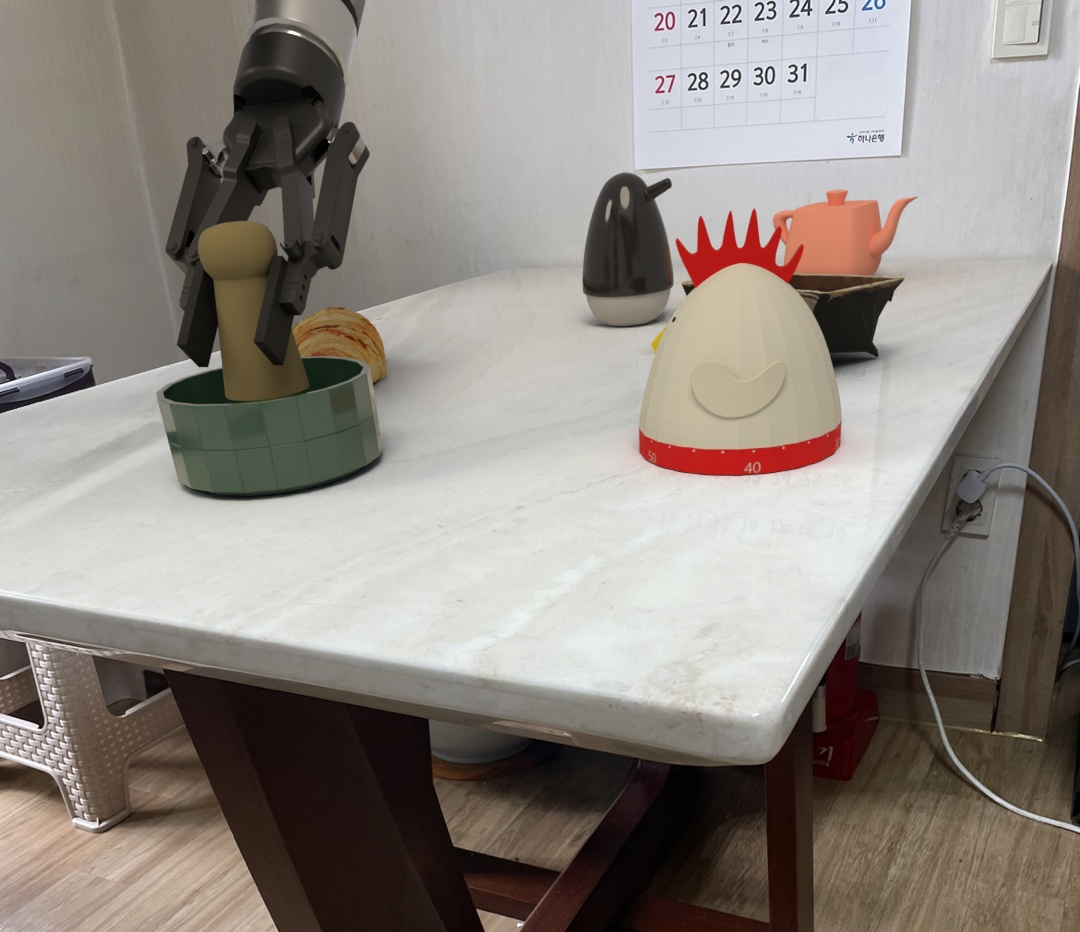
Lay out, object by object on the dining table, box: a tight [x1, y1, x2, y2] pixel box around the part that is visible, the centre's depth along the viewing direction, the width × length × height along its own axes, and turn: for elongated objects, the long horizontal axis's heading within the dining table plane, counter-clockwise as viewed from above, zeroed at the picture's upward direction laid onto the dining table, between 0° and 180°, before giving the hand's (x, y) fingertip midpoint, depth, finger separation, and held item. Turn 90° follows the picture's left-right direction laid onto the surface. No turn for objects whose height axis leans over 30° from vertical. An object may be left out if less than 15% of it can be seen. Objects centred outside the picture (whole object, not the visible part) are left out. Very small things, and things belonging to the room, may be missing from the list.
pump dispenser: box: [581, 171, 674, 327], centre depth 115 cm, size 10×10×15 cm
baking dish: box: [680, 273, 906, 359], centre depth 92 cm, size 14×18×10 cm
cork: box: [198, 221, 309, 401], centre depth 72 cm, size 6×6×11 cm
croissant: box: [292, 306, 388, 383], centre depth 102 cm, size 21×10×8 cm, turn 8°
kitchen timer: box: [638, 208, 843, 476], centre depth 70 cm, size 14×14×15 cm
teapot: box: [772, 189, 919, 276], centre depth 129 cm, size 12×18×10 cm, turn 56°
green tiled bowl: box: [155, 356, 383, 497], centre depth 76 cm, size 15×15×6 cm
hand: (230, 354), depth 70 cm, fingers closed on cork, 5 cm apart
